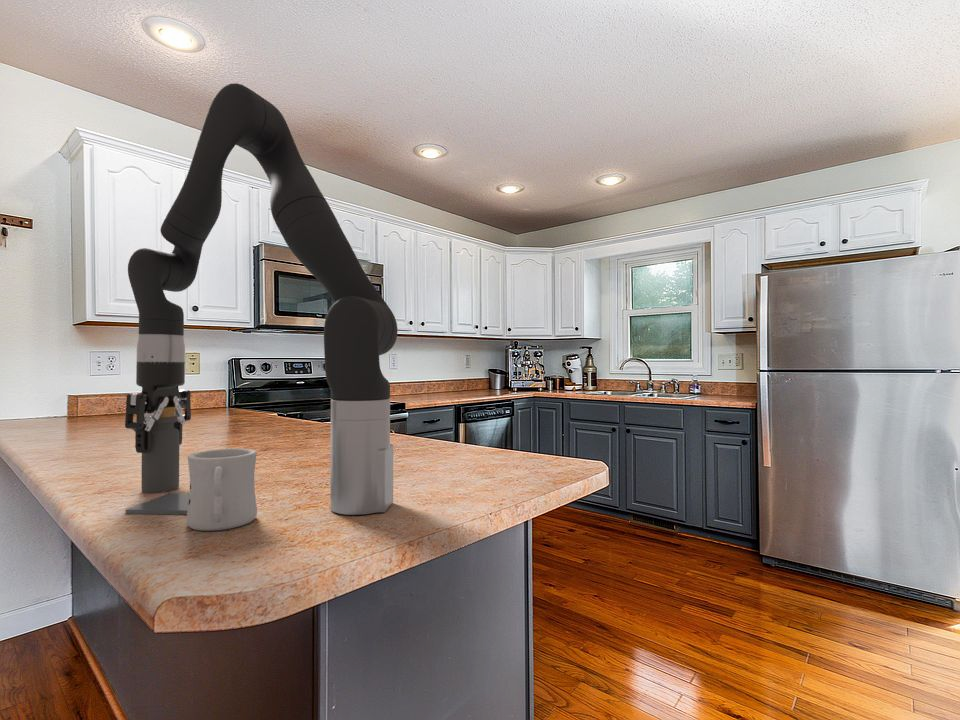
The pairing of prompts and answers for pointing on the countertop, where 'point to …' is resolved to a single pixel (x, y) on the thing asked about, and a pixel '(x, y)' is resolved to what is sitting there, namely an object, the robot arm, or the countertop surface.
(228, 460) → the mug
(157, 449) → the bottle
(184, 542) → the countertop surface
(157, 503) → the coaster
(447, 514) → the countertop surface
